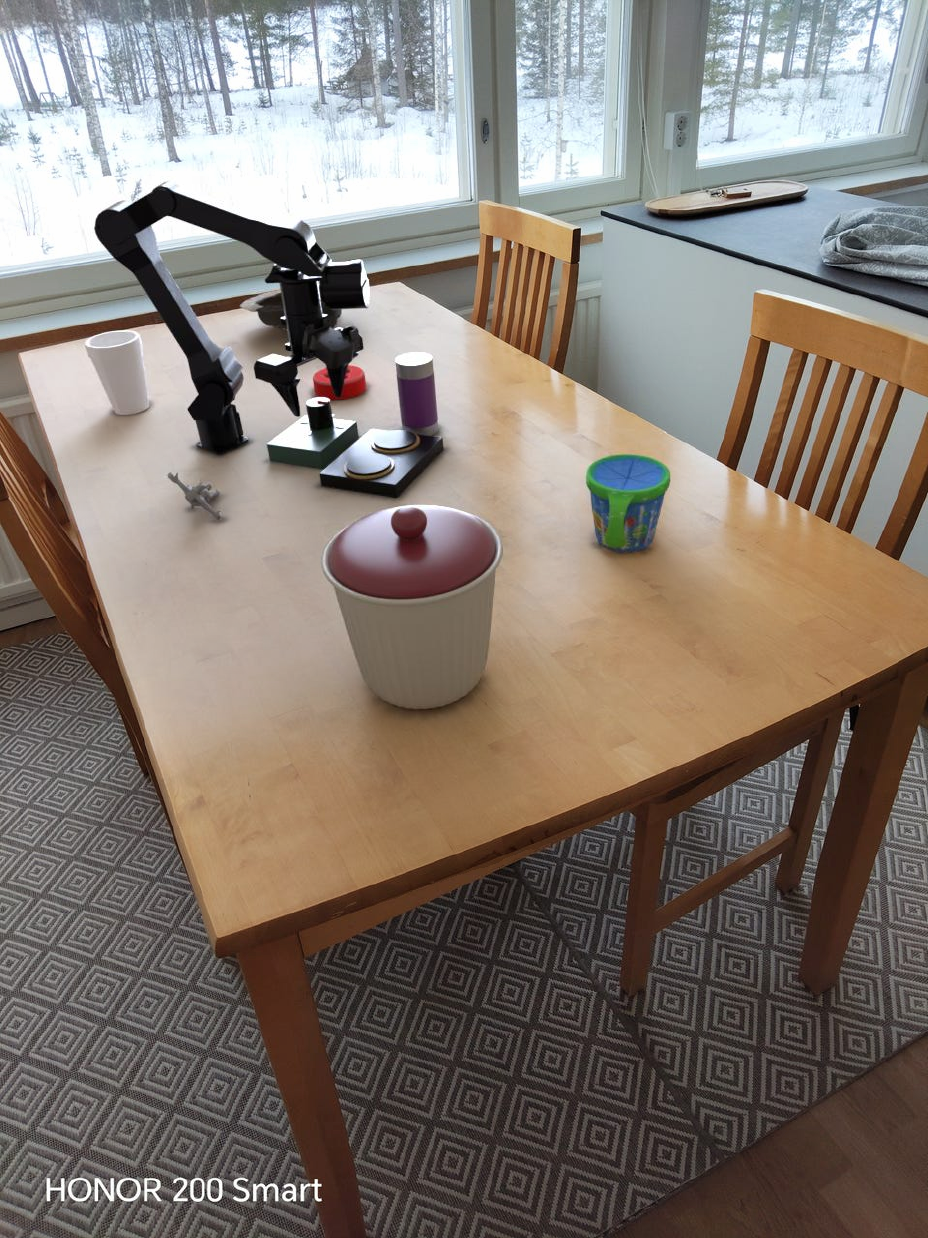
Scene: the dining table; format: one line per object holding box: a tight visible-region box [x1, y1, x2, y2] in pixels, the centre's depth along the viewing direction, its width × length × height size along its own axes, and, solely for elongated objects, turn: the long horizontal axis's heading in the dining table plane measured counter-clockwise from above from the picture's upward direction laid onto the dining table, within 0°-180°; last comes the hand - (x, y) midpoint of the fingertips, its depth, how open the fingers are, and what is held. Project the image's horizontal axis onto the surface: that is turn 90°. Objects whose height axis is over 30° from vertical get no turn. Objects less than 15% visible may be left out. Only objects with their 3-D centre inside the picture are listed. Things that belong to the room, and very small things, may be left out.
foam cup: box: [83, 329, 150, 416], centre depth 165 cm, size 10×9×13 cm
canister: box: [320, 504, 504, 710], centre depth 94 cm, size 18×18×21 cm
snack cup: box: [585, 453, 671, 554], centre depth 118 cm, size 16×10×10 cm
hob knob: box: [305, 396, 334, 430], centre depth 149 cm, size 4×4×4 cm
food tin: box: [395, 351, 439, 436], centre depth 150 cm, size 6×6×12 cm
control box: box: [266, 413, 360, 470], centre depth 149 cm, size 10×13×3 cm
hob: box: [318, 428, 445, 499], centre depth 142 cm, size 13×17×3 cm
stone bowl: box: [239, 282, 343, 330], centre depth 200 cm, size 25×25×9 cm
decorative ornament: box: [312, 364, 367, 401], centre depth 169 cm, size 10×10×3 cm
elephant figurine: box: [166, 472, 224, 522], centre depth 133 cm, size 10×6×9 cm
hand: (318, 406), depth 148 cm, fingers open, 9 cm apart
